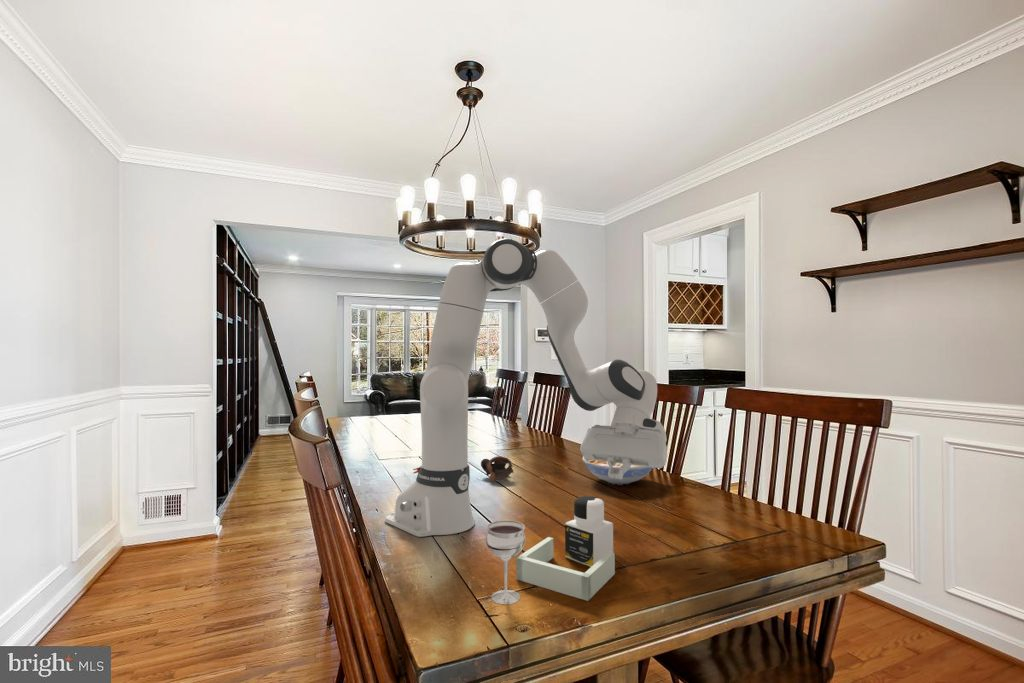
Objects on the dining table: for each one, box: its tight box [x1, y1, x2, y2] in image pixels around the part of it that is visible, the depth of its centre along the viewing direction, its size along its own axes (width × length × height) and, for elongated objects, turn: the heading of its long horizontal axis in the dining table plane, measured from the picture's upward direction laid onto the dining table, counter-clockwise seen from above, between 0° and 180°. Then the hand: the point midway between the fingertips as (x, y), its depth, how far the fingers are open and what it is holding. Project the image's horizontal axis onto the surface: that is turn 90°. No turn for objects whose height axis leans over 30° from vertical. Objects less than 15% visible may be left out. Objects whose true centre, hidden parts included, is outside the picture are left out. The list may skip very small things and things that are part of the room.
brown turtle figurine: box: [480, 455, 515, 483], centre depth 162 cm, size 12×10×8 cm
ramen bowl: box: [582, 455, 653, 486], centre depth 158 cm, size 25×23×8 cm
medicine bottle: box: [564, 495, 614, 568], centre depth 102 cm, size 7×7×12 cm
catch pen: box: [515, 536, 616, 602], centre depth 94 cm, size 14×12×4 cm
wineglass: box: [485, 519, 526, 605], centre depth 86 cm, size 7×7×12 cm
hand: (614, 477), depth 114 cm, fingers closed
